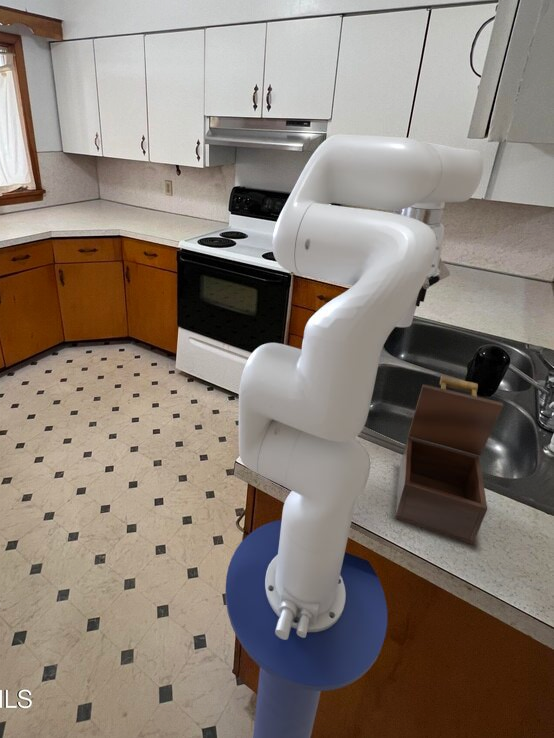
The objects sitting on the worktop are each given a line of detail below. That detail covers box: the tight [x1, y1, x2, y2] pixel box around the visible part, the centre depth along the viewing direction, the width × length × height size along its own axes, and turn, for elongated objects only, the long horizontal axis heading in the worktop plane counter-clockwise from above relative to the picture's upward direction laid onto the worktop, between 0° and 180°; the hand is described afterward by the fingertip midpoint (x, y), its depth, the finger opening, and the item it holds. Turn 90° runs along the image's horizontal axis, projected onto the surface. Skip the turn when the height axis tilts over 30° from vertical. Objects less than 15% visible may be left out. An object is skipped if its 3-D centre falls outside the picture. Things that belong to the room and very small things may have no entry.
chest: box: [394, 436, 488, 545], centre depth 78 cm, size 13×13×9 cm
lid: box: [407, 375, 504, 456], centre depth 79 cm, size 13×13×6 cm
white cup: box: [394, 287, 422, 328], centre depth 89 cm, size 7×7×10 cm
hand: (401, 300), depth 89 cm, fingers closed on white cup, 5 cm apart
